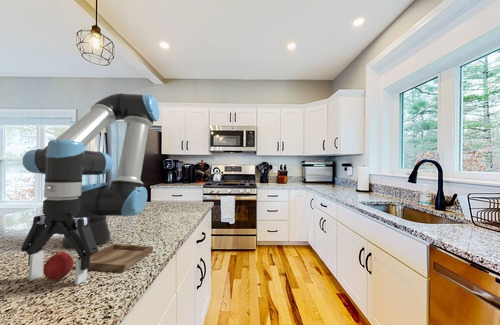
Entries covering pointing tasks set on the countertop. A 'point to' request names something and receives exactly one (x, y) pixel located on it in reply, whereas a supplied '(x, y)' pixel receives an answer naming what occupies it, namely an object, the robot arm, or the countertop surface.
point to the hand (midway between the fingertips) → (57, 280)
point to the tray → (118, 257)
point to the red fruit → (58, 266)
